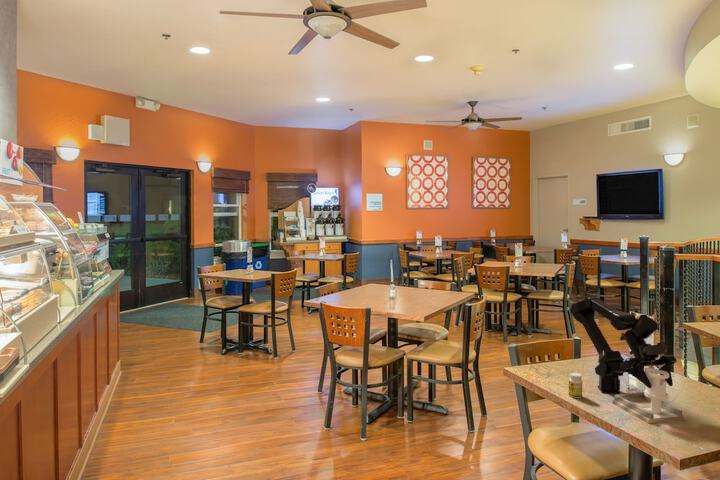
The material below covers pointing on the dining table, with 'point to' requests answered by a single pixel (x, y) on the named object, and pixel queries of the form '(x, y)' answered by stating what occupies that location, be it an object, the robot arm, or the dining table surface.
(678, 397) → the dining table surface
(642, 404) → the rail board
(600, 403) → the dining table surface
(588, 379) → the dining table surface
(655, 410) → the beige tall round piece
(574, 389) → the supplement bottle
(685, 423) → the dining table surface
